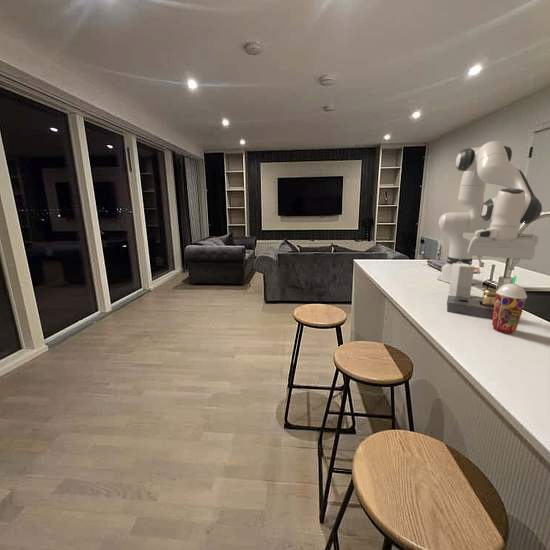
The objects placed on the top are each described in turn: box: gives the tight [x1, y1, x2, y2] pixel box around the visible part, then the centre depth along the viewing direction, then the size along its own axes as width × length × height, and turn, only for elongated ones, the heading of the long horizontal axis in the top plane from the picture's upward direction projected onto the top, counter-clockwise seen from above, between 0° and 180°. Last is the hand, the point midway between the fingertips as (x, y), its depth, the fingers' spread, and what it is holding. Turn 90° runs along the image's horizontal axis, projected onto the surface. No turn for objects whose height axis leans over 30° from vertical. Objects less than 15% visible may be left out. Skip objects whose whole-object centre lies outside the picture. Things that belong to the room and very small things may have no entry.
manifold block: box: [446, 294, 494, 320], centre depth 116 cm, size 11×20×4 cm, turn 60°
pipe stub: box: [481, 288, 497, 307], centre depth 114 cm, size 5×5×10 cm
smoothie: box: [491, 275, 528, 335], centre depth 98 cm, size 8×8×20 cm
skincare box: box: [448, 263, 475, 298], centre depth 135 cm, size 8×7×16 cm
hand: (495, 268), depth 110 cm, fingers open, 8 cm apart
